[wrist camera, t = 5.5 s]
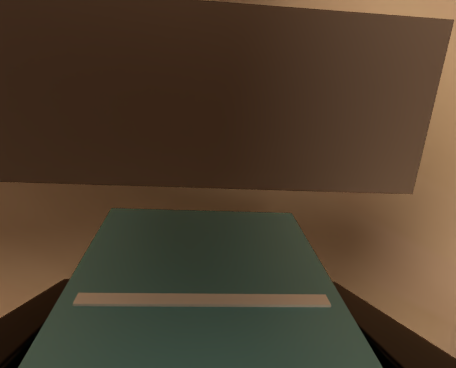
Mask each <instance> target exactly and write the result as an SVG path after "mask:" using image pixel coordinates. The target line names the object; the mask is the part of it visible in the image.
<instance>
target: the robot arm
mask: <svg viewBox="0 0 456 368" xmlns="http://www.w3.org/2000/svg"><path fill="white" fill-rule="evenodd" d="M69 280H70V279H64V280H62V281H60V282H59V283H57V284H55V285H54V286H52V287H51V288H49V289H47V290H46V291H44V292H42V293H41V294H39V295H37V296H36V297H34V298H33V299H31V300H29V301H28V302H26V303H24V304H23V305H21V306H19V307H18V308H16V309H15V310H13V311H11V312H10V313H8V314H6V315H5V316H3V317H1V318H0V368H18V367H19V365H20V364H21V362H22V360H23V358H24V357H25V355H26V353H27V352H28V350H29V348H30V346H31V345H32V343H33V341H34V340H35V338H36V336H37V335H38V333H39V331H40V329H41V328H42V326H43V324H44V323H45V321H46V319H47V317H48V316H49V314H50V312H51V311H52V309H53V307H54V305H55V304H56V302H57V300H58V299H59V297H60V295H61V293H62V292H63V290H64V288H65V287H66V285H67V283H68V282H69ZM332 282H333V281H332ZM333 284H334V286H335V287H336V289H337V291H338V293H339V294H340V296H341V298H342V299H343V301H344V303H345V304H346V306H347V308H348V309H349V311H350V313H351V315H352V316H353V318H354V320H355V321H356V323H357V325H358V326H359V328H360V330H361V331H362V333H363V335H364V337H365V338H366V340H367V342H368V343H369V345H370V347H371V348H372V350H373V352H374V353H375V355H376V357H377V359H378V360H379V362H380V364H381V365H382V367H383V368H456V359H455V358H454V357H452V356H451V355H449V354H448V353H446V352H444V351H443V350H441V349H440V348H438V347H437V346H435V345H433V344H432V343H430V342H429V341H427V340H426V339H424V338H422V337H421V336H419V335H418V334H416V333H415V332H413V331H411V330H410V329H408V328H407V327H405V326H404V325H402V324H400V323H399V322H397V321H396V320H394V319H392V318H391V317H389V316H388V315H386V314H385V313H383V312H381V311H380V310H378V309H377V308H375V307H374V306H372V305H370V304H369V303H367V302H366V301H364V300H363V299H361V298H359V297H358V296H356V295H355V294H353V293H352V292H350V291H348V290H347V289H345V288H344V287H342V286H341V285H339V284H337V283H336V282H333Z"/></svg>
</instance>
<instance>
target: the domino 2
mask: <svg viewBox="0 0 456 368" xmlns="http://www.w3.org/2000/svg"><path fill="white" fill-rule="evenodd" d="M18 368H383V367H382V365H381V364H380V362H379V360H378V359H377V357H376V355H375V353H374V352H373V350H372V348H371V347H370V345H369V343H368V342H367V340H366V338H365V337H364V335H363V333H362V331H361V330H360V328H359V326H358V325H357V323H356V321H355V320H354V318H353V316H352V315H351V313H350V311H349V309H348V308H347V306H346V304H345V303H344V301H343V299H342V298H341V296H340V294H339V293H338V291H337V289H336V287H335V286H334V284H333V282H332V281H331V279H330V277H329V276H328V274H327V272H326V271H325V269H324V267H323V265H322V264H321V262H320V260H319V259H318V257H317V255H316V254H315V252H314V250H313V249H312V247H311V245H310V243H309V242H308V240H307V238H306V237H305V235H304V233H303V232H302V230H301V228H300V227H299V225H298V223H297V221H296V220H295V218H294V216H293V215H292V213H271V212H234V211H198V210H161V209H125V208H111V210H110V211H109V213H108V215H107V217H106V218H105V220H104V222H103V223H102V225H101V227H100V229H99V230H98V232H97V234H96V235H95V237H94V239H93V240H92V242H91V244H90V246H89V247H88V249H87V251H86V252H85V254H84V256H83V258H82V259H81V261H80V263H79V264H78V266H77V268H76V270H75V271H74V273H73V275H72V276H71V278H70V280H69V282H68V283H67V285H66V287H65V288H64V290H63V292H62V293H61V295H60V297H59V299H58V300H57V302H56V304H55V305H54V307H53V309H52V311H51V312H50V314H49V316H48V317H47V319H46V321H45V323H44V324H43V326H42V328H41V329H40V331H39V333H38V335H37V336H36V338H35V340H34V341H33V343H32V345H31V346H30V348H29V350H28V352H27V353H26V355H25V357H24V358H23V360H22V362H21V364H20V365H19V367H18Z"/></svg>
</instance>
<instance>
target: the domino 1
mask: <svg viewBox="0 0 456 368" xmlns="http://www.w3.org/2000/svg"><path fill="white" fill-rule="evenodd" d="M453 22H454V20H449V19H436V18H423V17H410V16H397V15H384V14H371V13H358V12H345V11H332V10H319V9H306V8H293V7H280V6H267V5H255V4H242V3H229V2H216V1H203V0H0V182H26V183H59V184H92V185H125V186H158V187H191V188H224V189H257V190H290V191H323V192H356V193H389V194H413V190H414V186H415V182H416V177H417V173H418V169H419V165H420V161H421V157H422V152H423V148H424V144H425V140H426V136H427V131H428V127H429V123H430V119H431V115H432V110H433V106H434V102H435V98H436V94H437V89H438V85H439V81H440V77H441V73H442V69H443V64H444V60H445V56H446V52H447V48H448V43H449V39H450V35H451V31H452V27H453Z"/></svg>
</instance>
